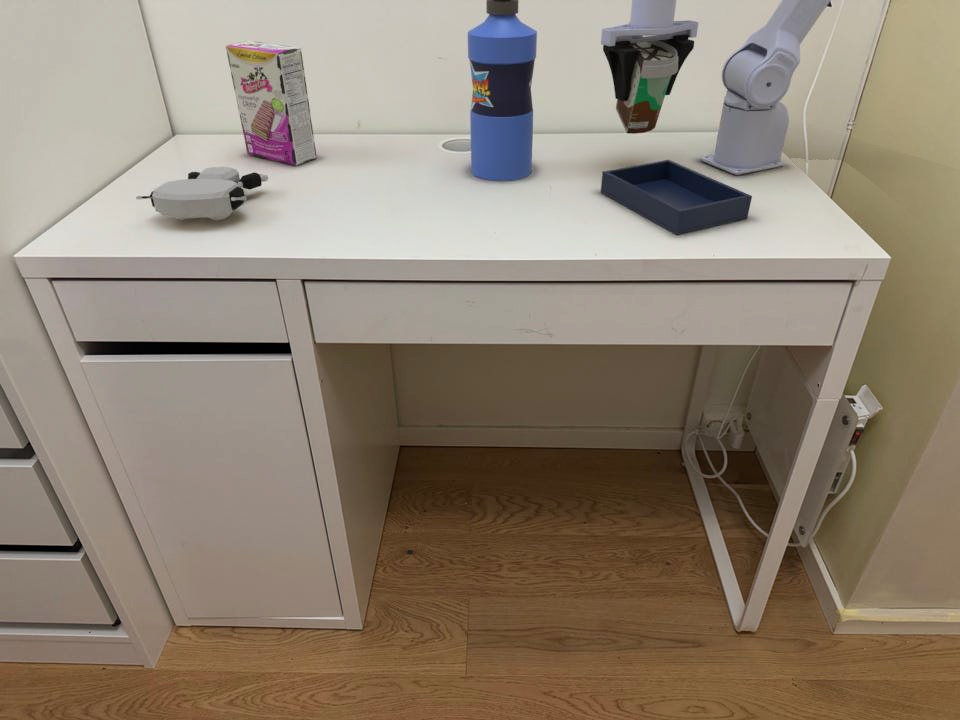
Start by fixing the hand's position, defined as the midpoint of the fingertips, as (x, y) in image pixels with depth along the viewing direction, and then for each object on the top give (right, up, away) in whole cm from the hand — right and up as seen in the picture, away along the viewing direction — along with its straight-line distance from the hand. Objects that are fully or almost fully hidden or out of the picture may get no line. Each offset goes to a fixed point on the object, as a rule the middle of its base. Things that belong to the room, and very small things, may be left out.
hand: (643, 96), depth 98 cm
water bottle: (-20, -9, +6) cm, 23 cm away
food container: (0, -3, +2) cm, 4 cm away
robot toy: (-59, -17, -6) cm, 61 cm away
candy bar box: (-55, -5, +12) cm, 56 cm away
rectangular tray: (+2, -17, -7) cm, 18 cm away
